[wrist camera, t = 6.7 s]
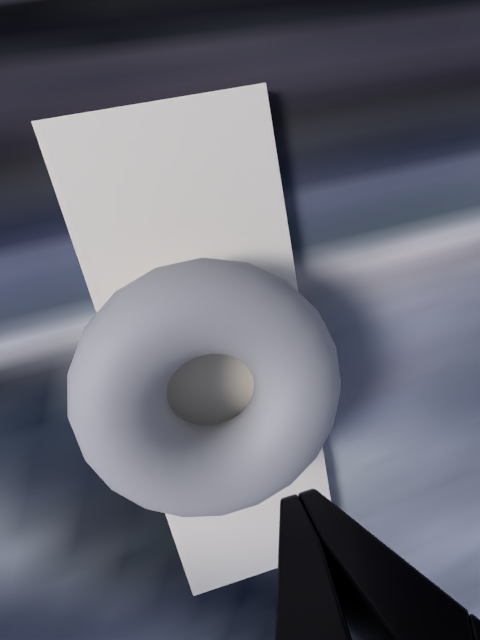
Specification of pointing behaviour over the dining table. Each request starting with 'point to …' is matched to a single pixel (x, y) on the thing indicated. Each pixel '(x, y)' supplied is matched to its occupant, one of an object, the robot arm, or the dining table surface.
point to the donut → (180, 347)
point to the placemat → (179, 246)
